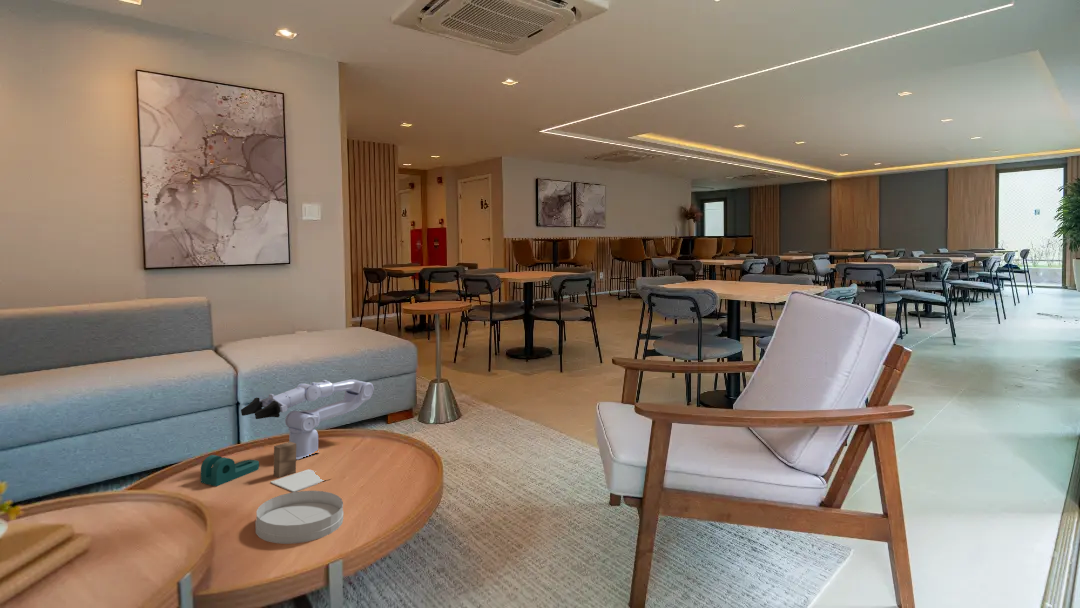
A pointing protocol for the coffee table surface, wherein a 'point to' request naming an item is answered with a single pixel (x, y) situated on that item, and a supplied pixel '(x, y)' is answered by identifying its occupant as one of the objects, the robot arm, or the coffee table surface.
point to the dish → (299, 517)
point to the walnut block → (284, 459)
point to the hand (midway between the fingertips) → (248, 414)
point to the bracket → (225, 469)
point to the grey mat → (298, 481)
